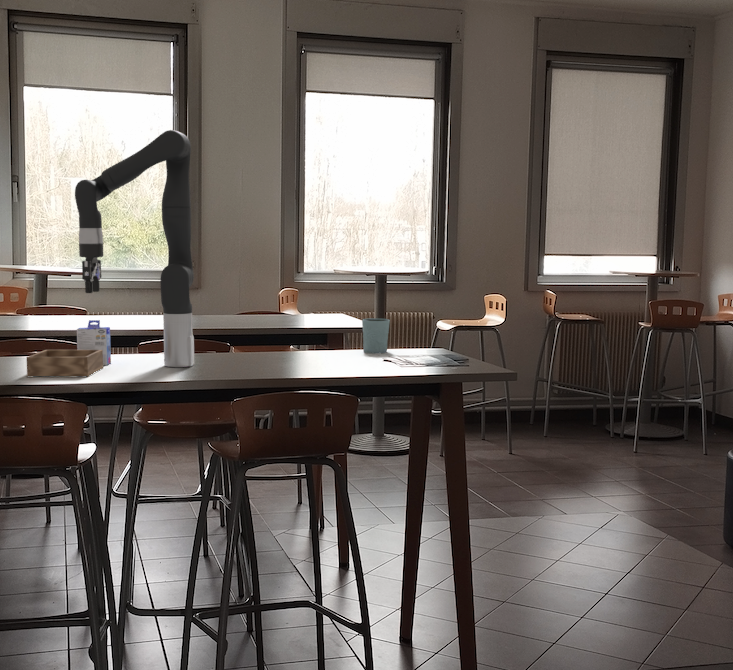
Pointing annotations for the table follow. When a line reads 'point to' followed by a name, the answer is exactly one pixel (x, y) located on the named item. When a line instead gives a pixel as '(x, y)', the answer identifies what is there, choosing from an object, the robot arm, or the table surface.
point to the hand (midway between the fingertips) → (92, 292)
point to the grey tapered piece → (375, 335)
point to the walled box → (65, 363)
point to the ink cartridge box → (95, 339)
